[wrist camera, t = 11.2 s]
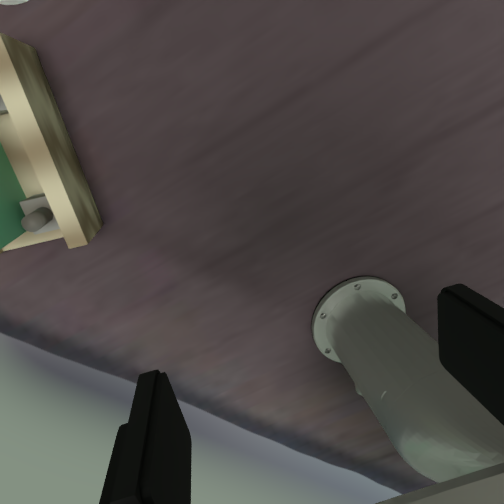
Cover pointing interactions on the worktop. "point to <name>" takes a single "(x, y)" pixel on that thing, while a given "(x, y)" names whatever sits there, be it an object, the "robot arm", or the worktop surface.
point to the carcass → (41, 154)
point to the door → (9, 202)
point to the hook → (12, 2)
